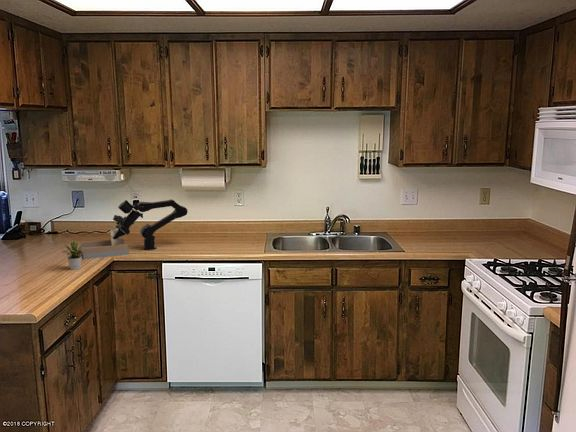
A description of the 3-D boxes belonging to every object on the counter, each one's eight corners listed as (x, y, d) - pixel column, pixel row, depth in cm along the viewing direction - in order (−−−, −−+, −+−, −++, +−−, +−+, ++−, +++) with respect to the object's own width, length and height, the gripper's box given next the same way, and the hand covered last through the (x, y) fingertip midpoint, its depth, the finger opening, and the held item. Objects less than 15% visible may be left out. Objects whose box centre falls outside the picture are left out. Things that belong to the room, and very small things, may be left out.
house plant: (55, 267, 264) (53, 238, 261) (81, 263, 274) (79, 234, 271) (65, 273, 254) (63, 242, 251) (91, 268, 264) (89, 238, 261)
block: (119, 243, 301) (118, 227, 300) (120, 245, 297) (119, 229, 295) (111, 244, 299) (110, 228, 297) (112, 246, 295) (111, 230, 293)
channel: (124, 247, 309) (123, 238, 308) (128, 254, 294) (128, 244, 292) (81, 251, 298) (80, 242, 297) (83, 258, 282) (83, 248, 281)
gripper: (118, 207, 304) (100, 226, 301) (123, 212, 288) (104, 232, 285) (132, 219, 309) (115, 237, 306) (137, 224, 293) (119, 244, 290)
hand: (113, 237), depth 297 cm, fingers closed on block, 5 cm apart
